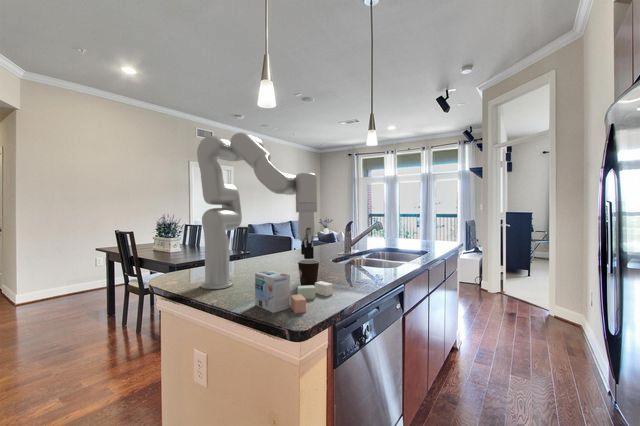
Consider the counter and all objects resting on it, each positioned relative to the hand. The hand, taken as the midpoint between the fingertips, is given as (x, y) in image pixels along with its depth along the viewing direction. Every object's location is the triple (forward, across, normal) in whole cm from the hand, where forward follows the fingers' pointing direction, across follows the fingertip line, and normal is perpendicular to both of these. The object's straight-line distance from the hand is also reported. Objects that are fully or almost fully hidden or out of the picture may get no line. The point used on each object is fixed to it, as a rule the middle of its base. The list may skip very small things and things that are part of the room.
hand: (307, 256), depth 109 cm
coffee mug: (+15, -17, +2) cm, 23 cm away
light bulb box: (+15, +8, -12) cm, 21 cm away
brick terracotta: (+15, +12, -4) cm, 19 cm away
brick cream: (+15, -4, +6) cm, 17 cm away
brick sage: (+15, 0, 0) cm, 15 cm away
